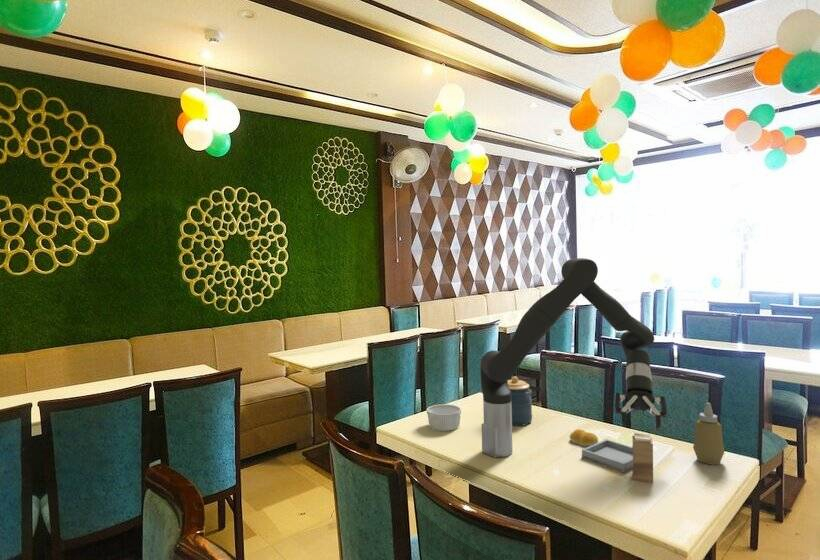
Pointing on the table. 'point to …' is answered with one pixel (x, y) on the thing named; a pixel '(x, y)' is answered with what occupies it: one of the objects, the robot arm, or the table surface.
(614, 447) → the tray
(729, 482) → the table surface
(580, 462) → the table surface
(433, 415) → the ramekin
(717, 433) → the squeeze bottle
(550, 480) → the table surface
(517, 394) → the canister
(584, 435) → the bread roll
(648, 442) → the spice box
